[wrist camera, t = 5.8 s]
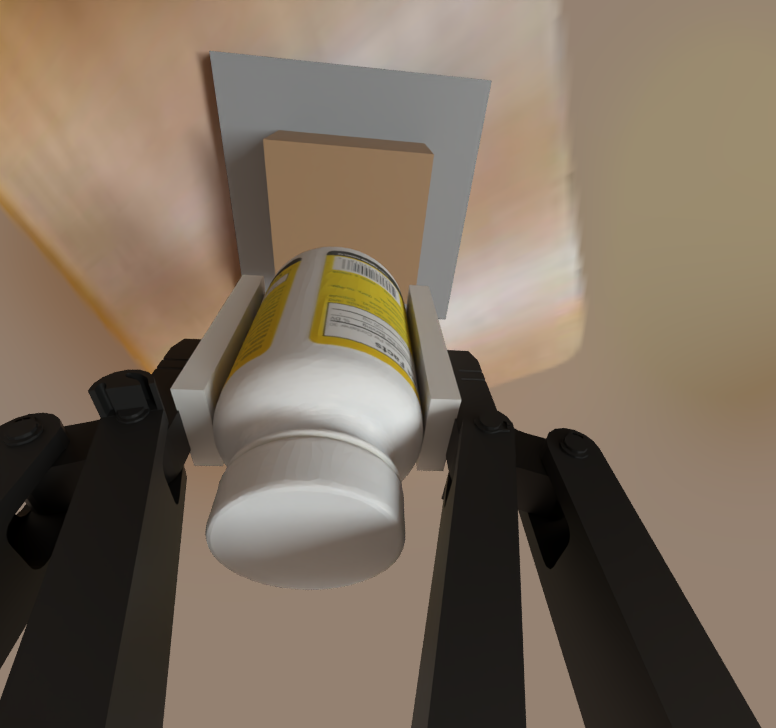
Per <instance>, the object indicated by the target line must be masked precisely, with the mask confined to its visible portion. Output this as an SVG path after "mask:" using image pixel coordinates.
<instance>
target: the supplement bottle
mask: <svg viewBox="0 0 776 728" xmlns="http://www.w3.org/2000/svg"><path fill="white" fill-rule="evenodd" d="M213 433H214V440H215V444H216V447H217V450H218V453H219V455H220V457H221V459H222V461H223V462H224V463H225V465H226V466H227V468H226V471H225V472H224V474H223V475H222V478H221V480H220V482H219V487H218V490H217V494H216V497H215V500H214V503H213V506H212V509H211V513H210V515H209V518H208V521H207V525H206V540H207V544H208V547H209V549H210V551H211V552H212V554H213V555H214V557H215V558H216V559H217V560H218V561H219V562H220V563H221V564H223V565H224V566H225V567H226V568H228V569H229V570H231V571H233V572H235V573H237V574H238V575H240V576H243V577H245V578H247V579H250V580H252V581H255V582H258V583H262V584H266V585H270V586H276V587H280V588H291V589H303V590H319V589H331V588H338V587H344V586H349V585H353V584H356V583H359V582H363V581H366V580H368V579H370V578H373V577H375V576H377V575H378V574H380V573H381V572H383V571H385V570H386V569H388V568H389V567H390V566H391V565H392V564H393V563H395V561H396V560H397V559H398V557H399V556H400V554H401V552H402V550H403V546H404V543H405V521H404V497H403V491H402V484H401V482H402V480H404V478H405V477H406V476H407V475H408V474H409V472H410V471H411V469H412V468H413V466H414V465H415V463H416V461H417V459H418V456H419V454H420V451H421V447H422V442H423V418H422V410H421V403H420V397H419V390H418V384H417V378H416V371H415V365H414V359H413V352H412V346H411V340H410V334H409V328H408V321H407V315H406V309H405V305H404V301H403V297H402V294H401V291H400V289H399V287H398V284H397V283H396V281H395V279H394V278H393V276H392V275H391V274H390V273H389V272H388V270H387V269H386V268H385V267H384V266H383V265H381V264H380V263H379V262H378V261H376V260H375V259H373V258H372V257H370V256H368V255H366V254H364V253H362V252H359V251H356V250H353V249H349V248H344V247H321V248H316V249H312V250H309V251H306V252H303V253H301V254H299V255H297V256H295V257H294V258H292V259H291V260H289V261H288V262H287V263H286V264H285V265H284V266H283V267H282V268H281V269H280V270H279V271H278V272H277V274H276V275H275V276H274V278H273V280H272V282H271V284H270V286H269V287H268V290H267V292H266V294H265V296H264V298H263V301H262V303H261V305H260V308H259V310H258V312H257V314H256V316H255V318H254V321H253V323H252V325H251V327H250V329H249V332H248V334H247V336H246V338H245V340H244V342H243V345H242V347H241V349H240V351H239V354H238V356H237V358H236V360H235V363H234V365H233V367H232V369H231V372H230V374H229V376H228V378H227V380H226V382H225V385H224V387H223V389H222V391H221V394H220V397H219V400H218V403H217V405H216V409H215V413H214V419H213Z"/></svg>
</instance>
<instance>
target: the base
mask: <svg viewBox="0 0 776 728" xmlns="http://www.w3.org/2000/svg"><path fill="white" fill-rule="evenodd" d="M209 52H210V59H211V66H212V73H213V80H214V87H215V94H216V100H217V107H218V114H219V121H220V128H221V135H222V142H223V149H224V156H225V163H226V170H227V177H228V184H229V191H230V198H231V205H232V212H233V219H234V226H235V233H236V239H237V246H238V253H239V260H240V267H241V274H242V275H256V276H264V283H265V292H267V290H268V287H269V286H270V284H271V282H272V280H273V278H274V276H275V275H276V274H277V272H278V271H279V270H280V269H281V268H282V267H283V266H284V265H285V264H286V263H287V262H288V261H289V260H291V259H292V258H294V257H295V256H297V255H299V254H301V253H303V252H306V251H309V250H312V249H316V248H321V247H344V248H349V249H353V250H356V251H359V252H362V253H364V254H366V255H368V256H370V257H372V258H373V259H375V260H376V261H378V262H379V263H380V264H381V265H383V266H384V267H385V268H386V269H387V270H388V272H389V273H390V274H391V275H392V276H393V278H394V279H395V281H396V283H397V284H398V287H399V289H400V291H401V294H402V297H403V301H404V305H405V309H406V305H407V297H408V290H409V285H419V286H429V289H430V292H431V296H432V299H433V303H434V306H435V310H436V313H437V317H438V319H446V314H447V309H448V304H449V299H450V293H451V288H452V283H453V278H454V273H455V268H456V262H457V257H458V252H459V247H460V242H461V237H462V231H463V226H464V221H465V216H466V211H467V206H468V200H469V195H470V190H471V185H472V180H473V175H474V169H475V164H476V159H477V154H478V149H479V144H480V138H481V133H482V128H483V123H484V118H485V113H486V107H487V102H488V97H489V92H490V87H491V82H492V81H491V80H481V79H472V78H462V77H453V76H443V75H434V74H424V73H415V72H405V71H396V70H386V69H377V68H367V67H358V66H349V65H339V64H330V63H320V62H311V61H301V60H292V59H282V58H273V57H263V56H254V55H244V54H235V53H225V52H216V51H209Z"/></svg>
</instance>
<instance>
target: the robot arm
mask: <svg viewBox="0 0 776 728" xmlns="http://www.w3.org/2000/svg"><path fill="white" fill-rule="evenodd" d="M265 294H266V292H265V283H264V276H256V275H242V277H241V278H240V280H239V281H238V283H237V285H236V286H235V288H234V289H233V291H232V292H231V294H230V296H229V297H228V299H227V300H226V302H225V304H224V305H223V307H222V308H221V310H220V311H219V313H218V315H217V316H216V318H215V319H214V321H213V322H212V324H211V326H210V327H209V329H208V330H207V332H206V333H205V335H204V337H203V338H202V339H183V340H182V341H180V342H179V343H177V344H176V345H174V346H173V347H171V348H170V350H169V351H168V353H167V354H166V355H165V357H164V360H162V361H161V362H160V363H159V365H158V366H157V369H155V370H154V372H153V373H152V374H150V373H149V372H146V371H142V370H124V371H119V372H114V373H112V374H109V375H107V376H105V377H102V378H101V379H100V380H98V381H97V382H95V383H94V384H93V385H92V386H91V387H90V389H89V390H88V392H89V394H90V396H91V398H92V400H93V402H94V405H95V407H96V409H97V411H98V413H99V415H100V417H101V419H100V420H96V421H91V422H86V423H80V424H75V425H69V426H63V424H62V422H61V421H60V419H59V418H58V417H56V416H55V415H53V414H48V413H36V414H28V415H25V416H22V417H18V418H15V419H13V420H11V421H9V422H7V423H5V424H3V425H1V426H0V668H1V667H2V665H3V663H4V662H5V660H6V658H7V656H8V655H9V653H10V651H11V649H12V648H13V646H14V645H15V643H16V641H17V640H18V638H19V636H20V635H21V633H22V631H23V630H24V628H25V626H26V625H27V626H26V629H25V632H24V635H23V637H22V640H21V643H20V646H19V649H18V651H17V654H16V657H15V660H14V663H13V665H12V668H11V671H10V674H9V677H8V679H7V682H6V685H5V688H4V691H3V693H2V696H1V699H0V728H163V718H164V707H165V697H166V687H167V677H168V667H169V656H170V646H171V636H172V625H173V615H174V604H175V595H176V583H177V574H178V564H179V553H180V543H181V533H182V523H183V511H184V501H185V491H186V481H187V476H186V471H185V468H184V463H185V461H186V459H187V457H188V455H189V453H190V454H191V457H192V459H193V463H194V465H195V466H197V465H199V466H223V464H224V462H223V461H222V459H221V457H220V455H219V453H218V450H217V447H216V444H215V440H214V433H213V419H214V413H215V409H216V405H217V403H218V400H219V397H220V394H221V391H222V389H223V387H224V385H225V382H226V380H227V378H228V376H229V374H230V372H231V369H232V367H233V365H234V363H235V360H236V358H237V356H238V354H239V351H240V349H241V347H242V345H243V342H244V340H245V338H246V336H247V334H248V332H249V329H250V327H251V325H252V323H253V321H254V318H255V316H256V314H257V312H258V310H259V308H260V305H261V303H262V301H263V298H264V296H265ZM406 315H407V321H408V328H409V334H410V340H411V346H412V352H413V359H414V365H415V371H416V378H417V384H418V390H419V397H420V403H421V410H422V418H423V442H422V447H421V451H420V454H419V456H418V459H417V461H416V465H417V470H423V471H443V469H444V466H445V462H446V460H447V464H448V469H449V473H448V477H447V481H446V485H445V488H444V492H443V496H442V499H443V507H442V514H441V522H440V528H439V535H438V542H437V550H436V557H435V564H434V571H433V578H432V585H431V592H430V599H429V606H428V613H427V620H426V627H425V634H424V641H423V648H422V655H421V662H420V669H419V677H418V683H417V690H416V698H415V705H414V712H413V720H412V726H411V728H526V709H525V687H524V686H525V685H524V658H523V632H522V609H521V608H522V607H521V582H520V556H519V530H518V511H519V514H520V517H521V520H522V523H523V527H524V530H525V533H526V536H527V540H528V543H529V546H530V549H531V553H532V556H533V559H534V562H535V565H536V569H537V572H538V575H539V579H540V582H541V585H542V588H543V592H544V595H545V598H546V601H547V604H548V608H549V611H550V614H551V617H552V621H553V624H554V627H555V631H556V634H557V637H558V640H559V644H560V647H561V650H562V653H563V657H564V660H565V663H566V666H567V669H568V672H569V676H570V679H571V682H572V686H573V689H574V692H575V695H576V699H577V702H578V705H579V708H580V711H581V715H582V718H583V721H584V725H585V728H761V727H760V725H759V723H758V722H757V720H756V718H755V716H754V714H753V713H752V711H751V709H750V708H749V706H748V704H747V702H746V701H745V699H744V697H743V695H742V694H741V692H740V690H739V689H738V687H737V685H736V683H735V682H734V680H733V678H732V676H731V675H730V673H729V671H728V669H727V668H726V666H725V664H724V663H723V661H722V659H721V657H720V656H719V654H718V652H717V651H716V649H715V647H714V645H713V644H712V642H711V640H710V638H709V637H708V635H707V633H706V632H705V630H704V628H703V626H702V625H701V623H700V621H699V619H698V618H697V616H696V614H695V613H694V611H693V609H692V607H691V606H690V604H689V602H688V600H687V599H686V597H685V595H684V594H683V592H682V590H681V588H680V587H679V585H678V583H677V581H676V580H675V578H674V576H673V575H672V573H671V571H670V569H669V568H668V566H667V565H666V563H665V561H664V559H663V557H662V556H661V554H660V552H659V550H658V549H657V547H656V545H655V544H654V542H653V540H652V539H651V537H650V535H649V533H648V531H647V530H646V528H645V526H644V525H643V523H642V521H641V519H640V518H639V516H638V514H637V513H636V511H635V509H634V508H633V506H632V504H631V502H630V500H629V499H628V497H627V495H626V493H625V492H624V490H623V488H622V486H621V485H620V483H619V481H618V480H617V478H616V476H615V474H614V473H613V471H612V469H611V468H610V466H609V464H608V463H607V461H606V459H605V457H604V456H603V454H602V452H601V450H600V449H599V447H598V446H597V445H596V444H595V442H594V441H592V440H591V439H590V438H589V437H587V436H586V435H584V434H582V433H580V432H578V431H575V430H571V429H566V428H560V429H554V430H553V431H551V432H549V434H548V436H547V438H546V439H545V438H541V437H538V436H534V435H530V434H527V433H524V432H521V431H518V430H516V429H514V427H513V423H512V422H511V421H510V420H509V419H508V417H507V416H505V415H504V414H502V413H501V412H499V411H497V409H496V406H495V404H494V401H493V399H492V396H491V394H490V391H489V388H488V386H487V383H486V381H485V378H484V375H483V373H482V370H481V367H480V365H479V362H478V360H477V359H476V358H475V357H474V356H473V355H472V354H471V353H470V352H469V351H455V350H447V348H446V345H445V341H444V338H443V334H442V331H441V327H440V324H439V320H438V317H437V313H436V310H435V306H434V303H433V299H432V296H431V292H430V289H429V286H419V285H409V290H408V297H407V305H406ZM24 502H26V505H25V506H24V508H23V509H22V510H21V511H20V512H19V513H18V514H17V515H15V513H16V512H17V511H18V509H19V508H20V507H21V506H22V504H23V503H24Z"/></svg>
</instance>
